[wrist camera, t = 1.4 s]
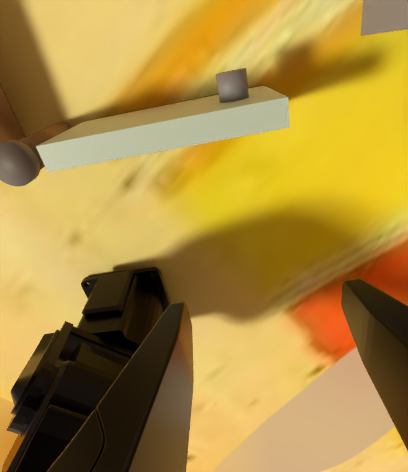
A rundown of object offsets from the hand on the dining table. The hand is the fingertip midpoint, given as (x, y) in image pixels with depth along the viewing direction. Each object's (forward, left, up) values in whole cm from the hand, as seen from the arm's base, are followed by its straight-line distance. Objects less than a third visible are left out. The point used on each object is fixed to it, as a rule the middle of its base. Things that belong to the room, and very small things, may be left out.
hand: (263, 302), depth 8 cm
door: (+4, +3, -13) cm, 14 cm away
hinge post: (+4, +10, -13) cm, 17 cm away
